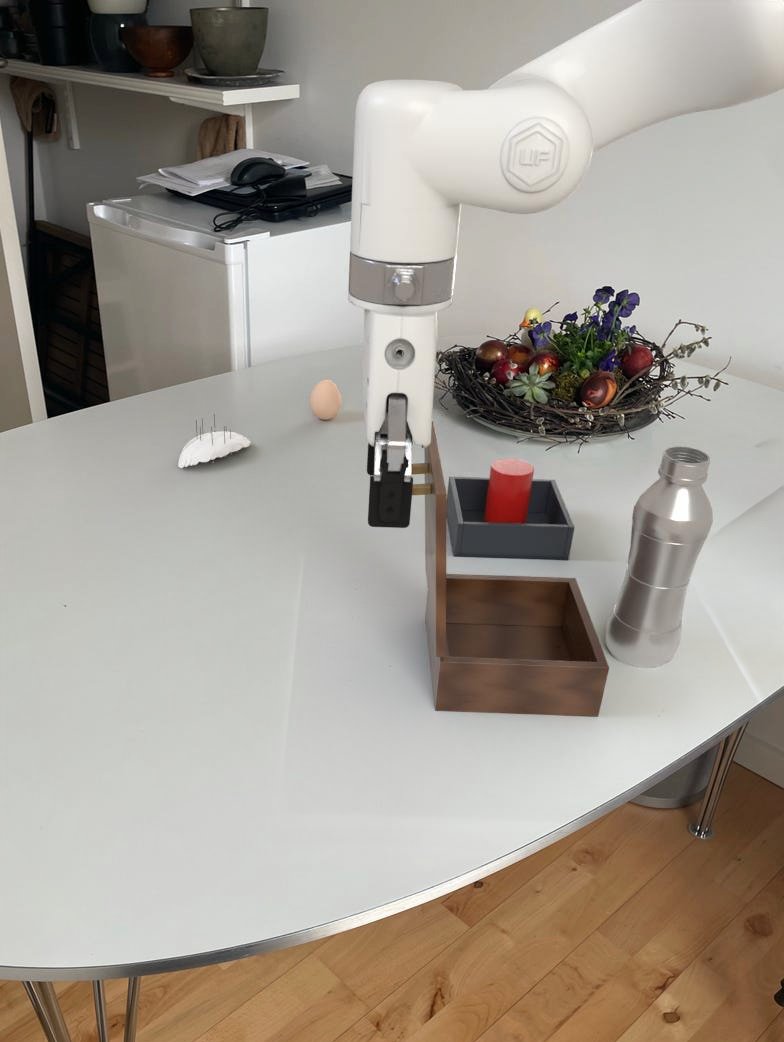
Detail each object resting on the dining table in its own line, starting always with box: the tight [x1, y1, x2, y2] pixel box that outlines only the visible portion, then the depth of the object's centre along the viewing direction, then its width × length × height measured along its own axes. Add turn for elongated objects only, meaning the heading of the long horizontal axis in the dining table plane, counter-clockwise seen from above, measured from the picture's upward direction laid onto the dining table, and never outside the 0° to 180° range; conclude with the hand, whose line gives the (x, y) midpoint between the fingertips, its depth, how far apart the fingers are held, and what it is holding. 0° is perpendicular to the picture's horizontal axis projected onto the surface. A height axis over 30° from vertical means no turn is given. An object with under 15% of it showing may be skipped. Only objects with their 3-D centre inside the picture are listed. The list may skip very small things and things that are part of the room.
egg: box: [309, 379, 342, 421], centre depth 138 cm, size 4×4×6 cm
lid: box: [381, 420, 448, 657], centre depth 81 cm, size 14×15×5 cm
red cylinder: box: [484, 458, 535, 524], centre depth 107 cm, size 5×5×8 cm
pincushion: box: [177, 413, 252, 469], centre depth 126 cm, size 12×6×6 cm, turn 135°
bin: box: [446, 476, 575, 561], centre depth 108 cm, size 12×12×4 cm
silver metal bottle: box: [604, 445, 714, 669], centre depth 84 cm, size 6×7×20 cm
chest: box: [424, 573, 610, 718], centre depth 86 cm, size 14×15×6 cm
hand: (386, 498), depth 79 cm, fingers open, 9 cm apart
